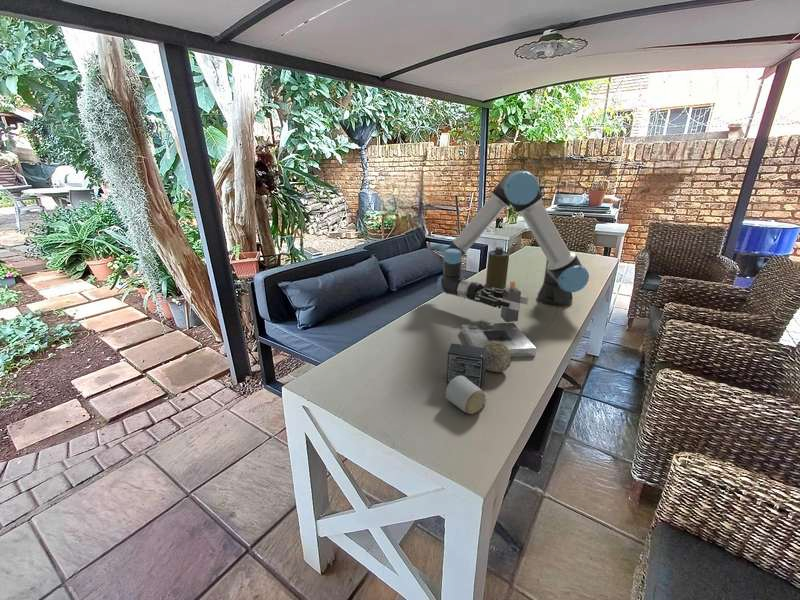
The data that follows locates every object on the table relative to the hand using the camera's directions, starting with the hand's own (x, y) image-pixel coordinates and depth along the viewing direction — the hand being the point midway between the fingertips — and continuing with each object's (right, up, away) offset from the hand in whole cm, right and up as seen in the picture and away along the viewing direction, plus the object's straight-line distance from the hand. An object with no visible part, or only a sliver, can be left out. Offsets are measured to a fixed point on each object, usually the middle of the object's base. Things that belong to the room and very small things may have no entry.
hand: (523, 303), depth 138 cm
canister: (+3, +9, +52) cm, 52 cm away
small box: (-27, -23, -29) cm, 45 cm away
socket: (-12, -14, -7) cm, 20 cm away
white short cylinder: (-28, -27, -39) cm, 55 cm away
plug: (-4, -6, +6) cm, 9 cm away
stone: (-17, -21, -23) cm, 36 cm away
